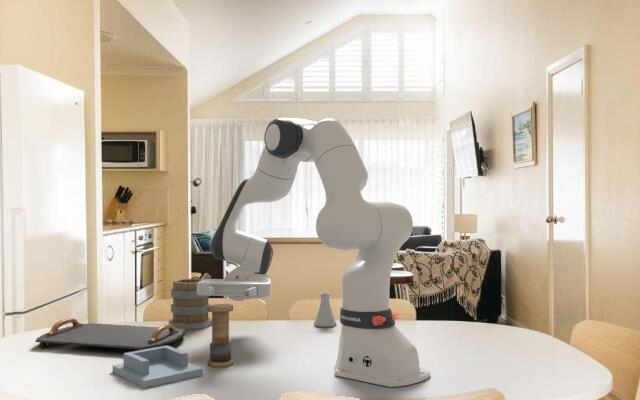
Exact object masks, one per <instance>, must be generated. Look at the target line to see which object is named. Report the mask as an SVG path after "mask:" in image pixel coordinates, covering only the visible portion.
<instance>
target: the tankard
mask: <svg viewBox="0 0 640 400" xmlns="http://www.w3.org/2000/svg"><path fill="white" fill-rule="evenodd" d="M205 279H212V276H211V275H210V273H208V272H205V273H204V274H203V275H202V276H201V278H185V279H184V278H181V279H176V280H173V282H172V288H171V289H170V296H171V298H172V304H170V312H171V313H172V318H171V319H168V324H171V325H173V326H174V327H175V328H177V329H185V330H186V331H191V330H200V329H205V328H206V329H207V328H208V327H212V318H211V317H209V311H208V306H209V305H211V304H210V303H209V298H210V296H205V295H198V294H197V282H199V281H201V280H205Z"/></svg>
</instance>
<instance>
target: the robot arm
mask: <svg viewBox="0 0 640 400" xmlns="http://www.w3.org/2000/svg"><path fill="white" fill-rule="evenodd" d="M263 138H264V140H263V142H264V147H263V149H262V151H261V153H260V156H259V159H258V162H257V167H256V169H255V171H254V173H253V174H252V176H250V177H249V178H245V179H243V180H242V181H241V183H240V184H239V185H238V186H237V188H236V191H235V192H234V195H233V197H232V198H231V201H230V202H229V204H228V206H227V209H226V211H225V213H224V215H223V217H222V219H221V221H220V223H219V225H218V227H217V229H216V230H215V232H214V233H213V234H212V236H211V239H210V241H209V250H210V253H212V255H213V257H214V259H216V260H220V261H225V262H229V263H233V264H236V265H239V266H237V267H235V268H234V269H232V270H231V271H229V272H227V274H226V275H224V278H222V279H221V278H211V279H205V280H201V281H199V282H197V294H198V295H205V296H209V297H211V296H212V297H215V296H217V297H220V296H221V297H227V298H228V299H230V300H232V301H235V302H240V301H245V300H250V299H256V298H257V299H258V298H270V297H272V279H271V278H270V274H269V273H268V270H269V269H270V266H271V263H272V260H273V254H274V249H273V247H272V243H271V242H270V240H269V239H266V238H263V237H261V236H258V235H254V234H252V233H251V234H250V233H249V232H245V231H242V230H240V229H237V228H236V224H237V221H239V218H240V215H241V214H242V211H243V209H244V207H245V206H247V205H249V204H256V203H273V202H276V201H280V200H281V199H284V198H285V197H286V196H287V195H289V194H290V191H291V189H292V187H293V184H294V181H295V178H296V175H297V172H298V167H299V164H300V163H301V162H303V163H310V162H311V163H314V164H315V167H316V170H317V172H318V174H319V177H320V180H321V183H322V186H323V189H324V192H325V202H324V203H325V204H324V206H323V207H322V208H321V210H320V211H319V212H318V215H317V217H316V219H315V231H316V235H317V237H318V240H319V241H320V243H322V244H323V245H324V246H325V247H327V248H331V249H335V250H343V251H349V250H350V251H351V250H358V252H357V256H356V258H355V260H354V261H353V263H352V264H351V265H350V266H349V267H347V269H345V271H344V272H343V274H342V277H341V278H342V279H341V307H340V309H339V322H340V324H341V328H340V329H341V330H340V335H339V342H338V343H339V344H338V351H337V358H336V361H335V366H334V375H335V376H336V377H341V378H346V379H350V380H355V381H359V382H360V381H361V382H365V383H371V384H374V385H378V386H384V387H387V388H388V387H389V388H393V387H394V388H395V387H397V388H398V387H404V386H409V385H413V384H417V383H419V382H423V381H425V380H427V379H428V378H429V377H430V375H431V373H430V372H431V371H430V370H429V369H427V368H423V367H421V366H420V358H419V352H418V349H417V347H416V346H415V345H414V344H413V343H412V342H411V341H410V340H409V339H408V338H407V337H406V336H405V334H403V332H401V331H400V330H399V328H398V327H397V325H396V321H395V320H398V319H399V313H394V314H393V312H392V309H391V307H390V287H391V285H390V283H391V276H392V275H391V274H392V269H393V265H394V264H395V261H396V257H397V255H398V254H399V250H400V249H401V247H402V246H403V245H404V243H406V242H407V241H408V240H409V239H410V237H411V235H412V232H413V227H414V223H413V217H412V215H411V213H410V211H409V210H408V209H407V208H406V207H405V206H404V205H401V204H398V203H394V202H389V201H367V200H365V199H364V198H363V197H362V193H361V192H362V191H363V189H364V188H365V187H366V185H367V183H368V179H369V173H368V171H367V168H366V166H365V164H364V161H363V160H362V157H361V155H360V152H359V151H358V148H357V146H356V145H355V143H354V141H353V139H352V137H351V135H350V134H349V133H348V131H347V129H346V128H345V127H344V125H343V124H342V123H341V122H340V121H338V119H337V120H336V119H334V118H325V119H322V120H319V121H313V120H309V119H303V118H288V117H279V118H276V119H275V118H274V119H272V120H271V121H270V122H269V123H268V125H267V127H266V129H265V131H264V137H263Z"/></svg>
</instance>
